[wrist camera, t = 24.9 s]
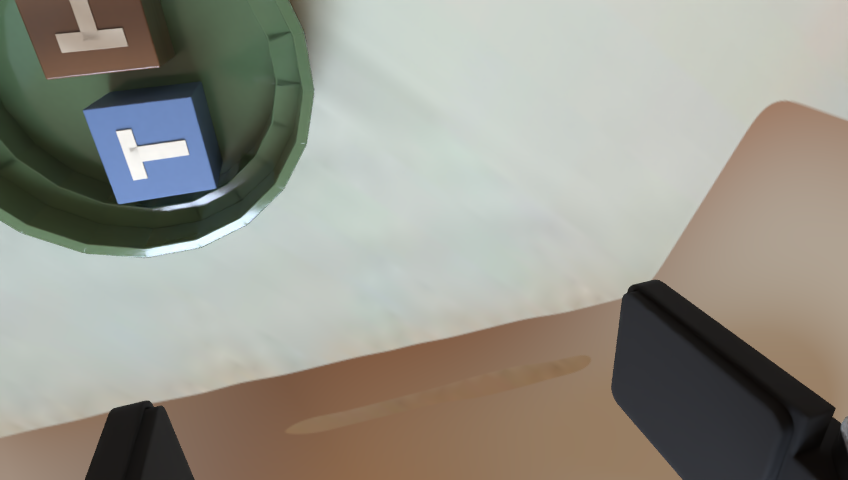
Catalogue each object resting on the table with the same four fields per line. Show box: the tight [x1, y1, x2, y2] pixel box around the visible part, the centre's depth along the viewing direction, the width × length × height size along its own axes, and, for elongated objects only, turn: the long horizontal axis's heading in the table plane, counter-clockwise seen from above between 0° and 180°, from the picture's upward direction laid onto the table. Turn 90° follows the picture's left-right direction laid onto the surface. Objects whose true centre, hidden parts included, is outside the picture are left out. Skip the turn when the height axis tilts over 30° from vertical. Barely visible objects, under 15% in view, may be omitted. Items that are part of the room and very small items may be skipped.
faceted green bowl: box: [0, 0, 314, 258], centre depth 27 cm, size 18×18×6 cm
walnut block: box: [15, 0, 175, 80], centre depth 25 cm, size 5×5×5 cm
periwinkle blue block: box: [83, 82, 223, 204], centre depth 28 cm, size 5×5×5 cm
